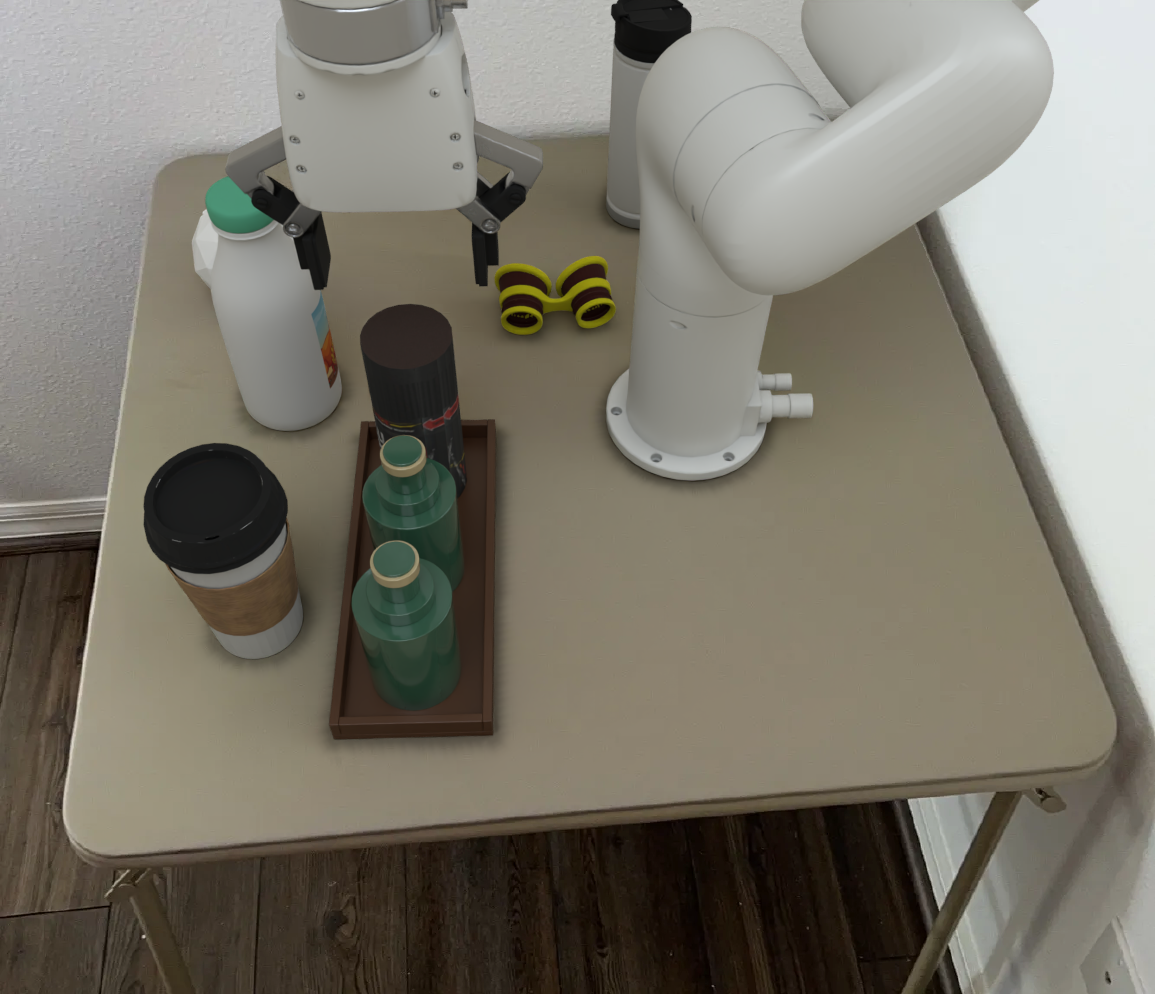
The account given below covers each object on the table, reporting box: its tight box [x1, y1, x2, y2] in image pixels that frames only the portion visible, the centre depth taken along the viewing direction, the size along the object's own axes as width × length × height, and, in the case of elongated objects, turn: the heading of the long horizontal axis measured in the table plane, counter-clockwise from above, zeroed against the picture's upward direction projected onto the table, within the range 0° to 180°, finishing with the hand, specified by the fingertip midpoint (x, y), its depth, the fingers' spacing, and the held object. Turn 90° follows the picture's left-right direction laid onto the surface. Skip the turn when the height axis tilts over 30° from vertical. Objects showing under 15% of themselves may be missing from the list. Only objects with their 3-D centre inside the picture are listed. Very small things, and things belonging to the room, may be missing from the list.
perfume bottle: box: [191, 208, 294, 291], centre depth 95 cm, size 9×9×12 cm
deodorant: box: [359, 303, 467, 498], centre depth 79 cm, size 6×6×15 cm
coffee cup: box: [142, 442, 304, 660], centre depth 72 cm, size 8×8×15 cm
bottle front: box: [352, 541, 462, 711], centre depth 70 cm, size 6×6×13 cm
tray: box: [328, 418, 497, 740], centre depth 79 cm, size 10×25×2 cm, turn 2°
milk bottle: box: [204, 175, 343, 432], centre depth 82 cm, size 8×8×20 cm
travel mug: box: [605, 0, 693, 230], centre depth 97 cm, size 6×7×20 cm
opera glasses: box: [493, 255, 617, 336], centre depth 94 cm, size 10×5×5 cm, turn 99°
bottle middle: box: [362, 435, 465, 592], centre depth 74 cm, size 6×6×13 cm
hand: (402, 272), depth 68 cm, fingers open, 9 cm apart
